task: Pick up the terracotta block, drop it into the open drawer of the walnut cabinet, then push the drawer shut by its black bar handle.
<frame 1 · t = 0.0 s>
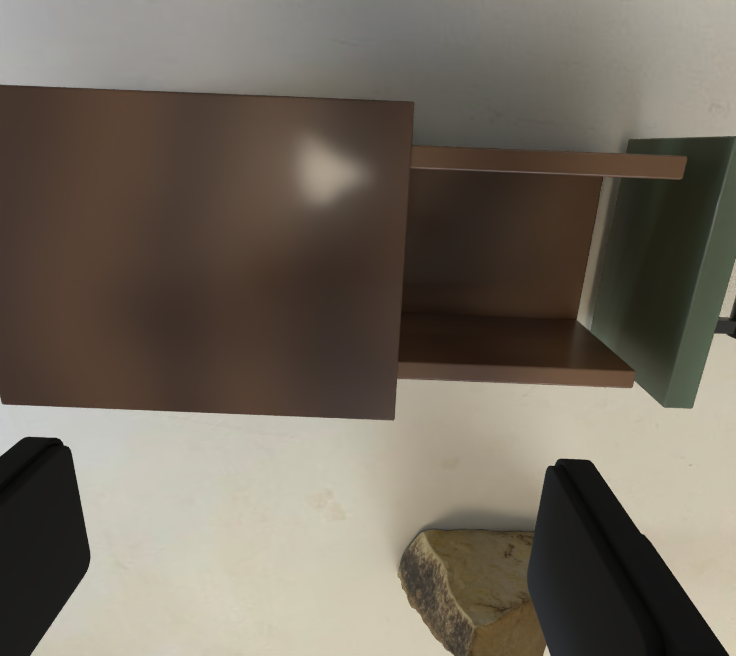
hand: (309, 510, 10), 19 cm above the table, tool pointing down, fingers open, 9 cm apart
rock: (482, 548, 34), on the table
cabinet: (248, 228, 27), on the table
drawer: (556, 258, 23), point 5 cm above the table, slide at 11.0 cm
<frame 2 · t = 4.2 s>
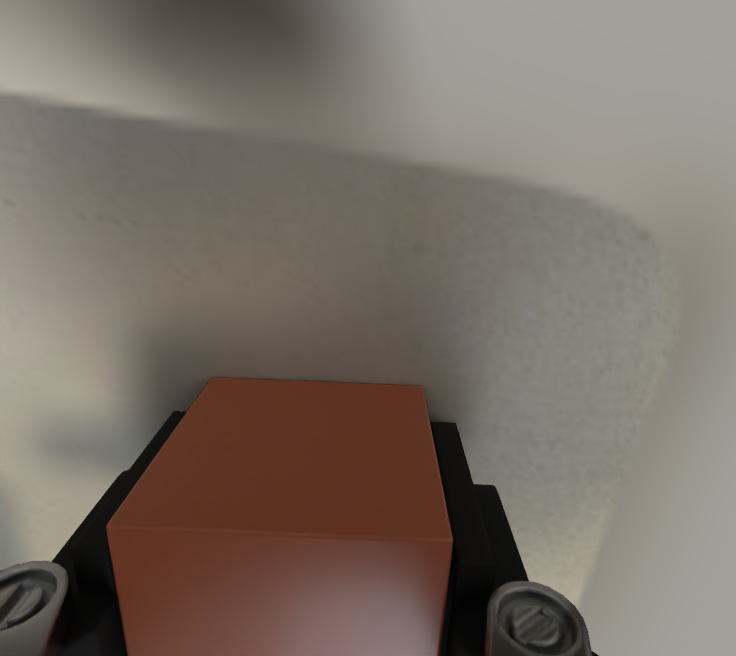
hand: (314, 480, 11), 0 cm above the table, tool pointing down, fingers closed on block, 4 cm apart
block: (316, 470, 11), on the table, touching gripper
when the fingers open (8 cm above the table, at t = 10.1 s): block drops 5 cm, resting on drawer.
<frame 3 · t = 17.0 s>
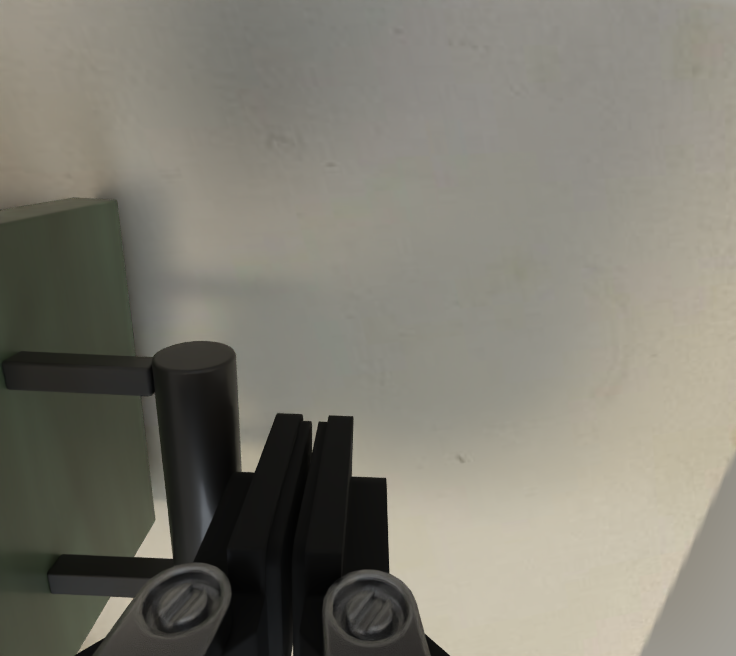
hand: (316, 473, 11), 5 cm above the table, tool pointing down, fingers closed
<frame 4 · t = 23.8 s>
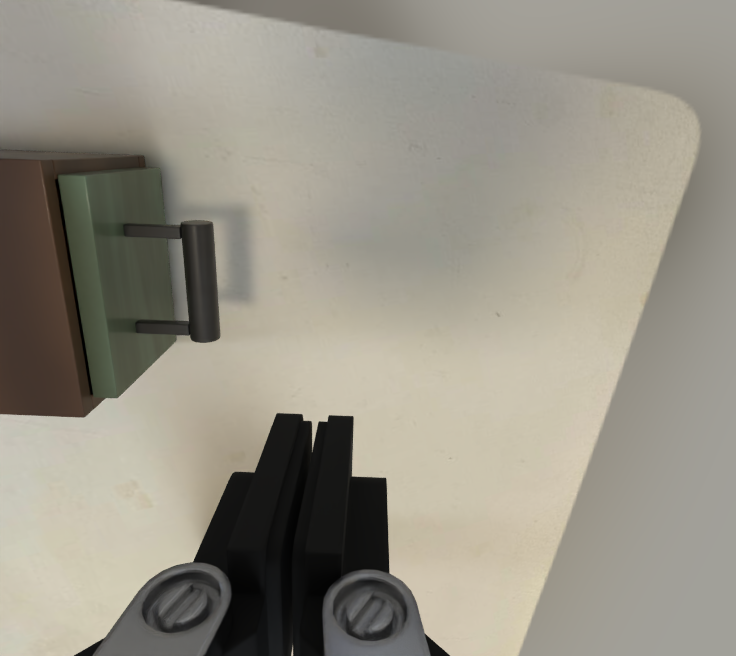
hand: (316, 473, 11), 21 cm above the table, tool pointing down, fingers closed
cabinet: (28, 250, 31), on the table
drawer: (42, 271, 26), point 5 cm above the table, slide at 0.0 cm, touching block, cabinet
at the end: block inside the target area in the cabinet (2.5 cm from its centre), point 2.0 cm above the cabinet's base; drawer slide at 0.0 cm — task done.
